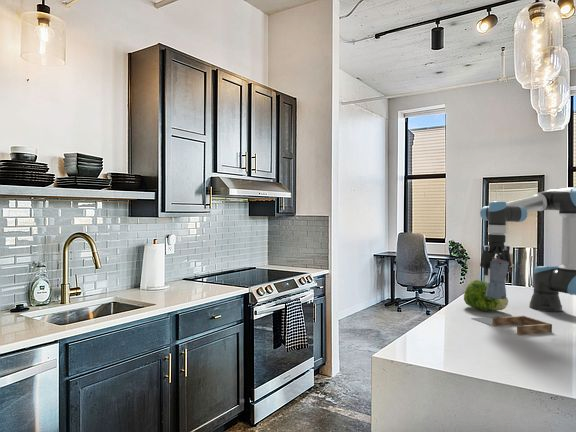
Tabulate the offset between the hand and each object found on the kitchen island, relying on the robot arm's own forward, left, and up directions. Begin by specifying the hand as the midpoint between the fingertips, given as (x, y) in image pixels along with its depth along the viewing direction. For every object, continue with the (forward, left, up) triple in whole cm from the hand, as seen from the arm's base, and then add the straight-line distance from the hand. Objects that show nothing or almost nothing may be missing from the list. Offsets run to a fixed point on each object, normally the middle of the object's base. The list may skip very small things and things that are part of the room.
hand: (495, 281), depth 201 cm
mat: (0, 0, -18) cm, 18 cm away
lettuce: (-12, -19, -19) cm, 30 cm away
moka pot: (0, 0, -7) cm, 7 cm away
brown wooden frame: (-1, +14, -18) cm, 23 cm away
